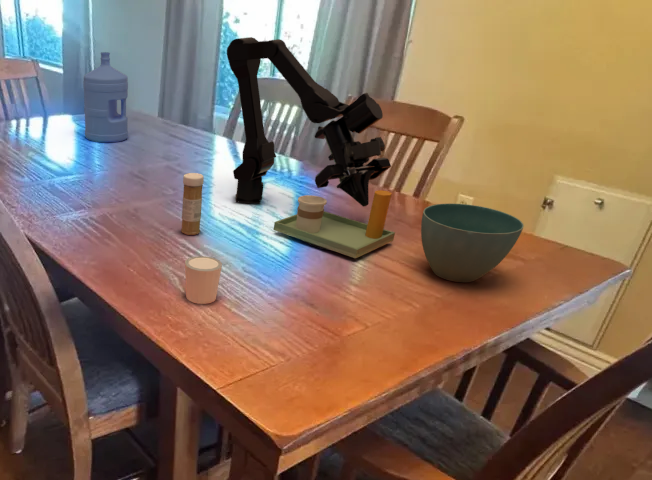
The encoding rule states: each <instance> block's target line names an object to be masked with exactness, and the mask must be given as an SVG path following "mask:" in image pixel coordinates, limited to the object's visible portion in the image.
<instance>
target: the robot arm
mask: <svg viewBox="0 0 652 480" xmlns="http://www.w3.org/2000/svg"><path fill="white" fill-rule="evenodd" d="M226 57H227V61H228V64H229V68H230V70H231V72H232V73H233V75H234V76H235V78H236V80H237V86H238V92H239V93H238V94H239V99H240V100H239V101H240V108H241V115H242V120H243V121H242V122H243V129H244V136H245V141H244V145H243V149H242V162H241V164H239V165H238V166H237V167H236V168H235V169H233V170H232V173H233V178H234V180H237V184H236V192H235V203H237V204H250V205H251V204H252V205H254V204H255V205H261V201H262V200H263V194H264V186H265V185H264V182H263V177H265V176H266V175H267V174H268V171H269V170H270V169H272V167H273V166H274V165H275V158H277V155H276V152H275V142H274V141H273V140H272V141H269V140H268V138H267V136H266V135H265V128H264V120H263V111H262V103H261V97H260V95H261V94H260V87H259V80H258V74H259V69H260V66H261V63H262V61H261V60H264V59H268V60H269V61H270V62H271V64H272V65H273V66H274V68H275V69H276V70H277V71H278V72H279V74H280V75H281V76H282V77H283V79H284V80H285V81H286V82H287V84H288V85H289V86H290V87H291V88H292V90H293V91H294V92H295V93H296V94H297V96H298V98H299V99H300V104H301V109H302V110H303V112H304V113H305V115H306V117H307V118H308V120H309V121H310V122H311V123H313V124H322V123H325V122H328V121H329V122H328V123H327V124H325V125H324V126H321V125H319V126H318V127H317V130H316V132H315V134H314V139H318V140H319V139H320V140H325V142H326V145H327V148H328V149H329V153H330V154H329V155H328V156H327V157H328V160H329V161H330V162H331V161H333V162H334V164H327V165H326V166H324V168H322V169H321V170H320V171H319V172H318V173H317V174H316V175H315V177H314V183H315V185H316V188H317V189H322V188H327V187H328V186H329V184H330V181H331V180H336V179H338V182H339V183H338V184H337V185H336V188H337V189H340V190H342V191H343V192H344V193H345V194H347V195H349V196H350V198H352V199H354V200H355V201H356V202H357V203H358V204H359V205H360V206H361V207H367V206H368V205H369V204H370V203H369V202H370V200H369V184H370V183H369V182H370V181H372V180H375V179H377V178H379V177H380V176H381V175H383V174H384V173H385V172H387V171H388V170H389V169H390V168H392V165H391V163H390V162H391V161H390V159H389V158H387V157H379V156H382V152H384V151H385V149H386V145H385V142H384V140H383V138H382V137H381V136H378V137H374V138H371V139H369V140H370V141H365V142H361V141H360V140H358V141H356V140H355V139H354V136H353V134H352V133H356V134H362V133H363V132H365V131H366V130H367V129H369V128H370V127H372V126H373V125H375V124H376V123H377V122H379V121H381V120H382V119H383V117H384V114H383V110H382V108H381V106H380V104H379V103H377V101H376V100H375V99H374V98H372V97H371V96H370V94H369V92H365V93H362V94H360V95H359V96H358V97H357V98H356V100H354V101H353V102H352V103H350V104H347V103H344V102H341V101H340V100H339V99H338V97H337V96H336V95H335V94H334V93H332V92H331V91H330V90H328V88H325V87H324V86H322V85H320V83H317V81H315V79H314V78H313V77H312V76H311V75H310V73H308V71H307V70H306V69H305V68H304V66H303V65H302V64H301V63H300V61H299V60H298V59H297V57H296V56H295V55H294V53H292V51H290V49H289V48H288V46H287V44H286V42H285V41H284V40H282V39H280V38H278V39H277V38H276V39H270V40H262V41H260V40H258V39H256V38H255V37H253V36H251V37H240V38H235V39H232V41H230V43H229V45H228V46H227V48H226ZM336 118H338V119H337V120H334V119H336ZM371 157H377V158H372V159H371V160H370V158H371ZM378 157H379V158H378ZM366 163H367V164H366ZM364 164H365V165H364ZM329 180H330V181H329Z"/></svg>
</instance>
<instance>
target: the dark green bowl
mask: <svg viewBox="0 0 652 480" xmlns="http://www.w3.org/2000/svg"><path fill="white" fill-rule="evenodd" d="M524 227H525V225H524V223H523V222H522V221H521V220H520V219H519V218H517V217H515V216H514V215H512V214H509V213H506V212H504V211H501V210H498V209H495V208H490V207H486V206H480V205H474V204H467V203H454V202H453V203H452V202H451V203H450V202H449V203H436V204H432V205H429V206H426V207H424V209H423V211H422V215H421V223H420V238H421V245H422V250H423V253H424V256H425V259H426V262H427V263H428V265H429V267H430V269H431V270H432V272H433V273H434V274H435V275H436V276H437V277H439V278H441V279H444V280H447V281H450V282H455V283H472V282H475V281H477V280H480V279H481V278H482V277H483V276H485V275H487V274H488V273H490V272H491V271H492V270H494V269H495V268H496V267H497V266H498V265H499V264H500V263H501V262H503V260H505V258H506V257H507V256H508V255H509V253H510V252H511V250H512V249H513V247H514V246H515V245H516V243H517V242H518V240H519V238H520V236H521V234H522V233H523V229H524Z"/></svg>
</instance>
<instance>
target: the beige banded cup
mask: <svg viewBox="0 0 652 480" xmlns="http://www.w3.org/2000/svg"><path fill="white" fill-rule="evenodd" d="M297 202H298V206H297V210H296V214H297V221H296V227H295V228H297V229H300V230H303V231H306V232H309V233H317V232H319V231H320V226H321V221H322V217H323V213H324V211H325V209H324V208H325V206H326V205H327V202H328V201H327V199H326V198H324V197H322V196H319V195H310V194H309V195H308V194H307V195H301V196H298V198H297Z"/></svg>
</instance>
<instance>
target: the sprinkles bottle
mask: <svg viewBox="0 0 652 480" xmlns="http://www.w3.org/2000/svg"><path fill="white" fill-rule="evenodd" d="M204 178H205V177H204V175H203V174H201V173H197V172H189V173H185V174H184V175H183V178H182V179H183V180H182V184H183V194H182V207H181V208H182V209H181V229H180V232H181V233H182V234H184V235H188V236H195V235H198V234H200V232H201V230H200V228H201V218H202V206H203V205H202V204H203V186H204V182H205V181H204V180H205V179H204Z"/></svg>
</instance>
